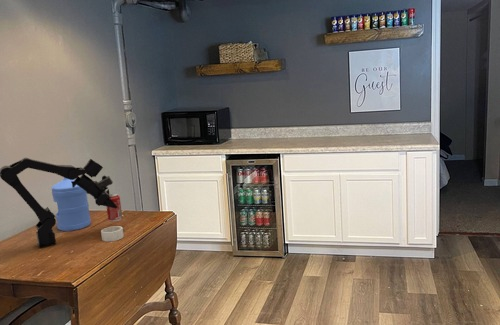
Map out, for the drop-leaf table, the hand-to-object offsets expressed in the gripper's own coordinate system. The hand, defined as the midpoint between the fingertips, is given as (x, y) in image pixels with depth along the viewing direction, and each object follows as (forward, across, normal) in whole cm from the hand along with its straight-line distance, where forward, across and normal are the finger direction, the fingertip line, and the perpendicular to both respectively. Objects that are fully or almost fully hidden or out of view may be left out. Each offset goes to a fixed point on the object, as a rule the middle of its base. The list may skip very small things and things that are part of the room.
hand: (116, 205), depth 220 cm
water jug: (-6, +19, +24) cm, 31 cm away
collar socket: (+6, -10, +11) cm, 16 cm away
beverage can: (+4, 0, +6) cm, 7 cm away
